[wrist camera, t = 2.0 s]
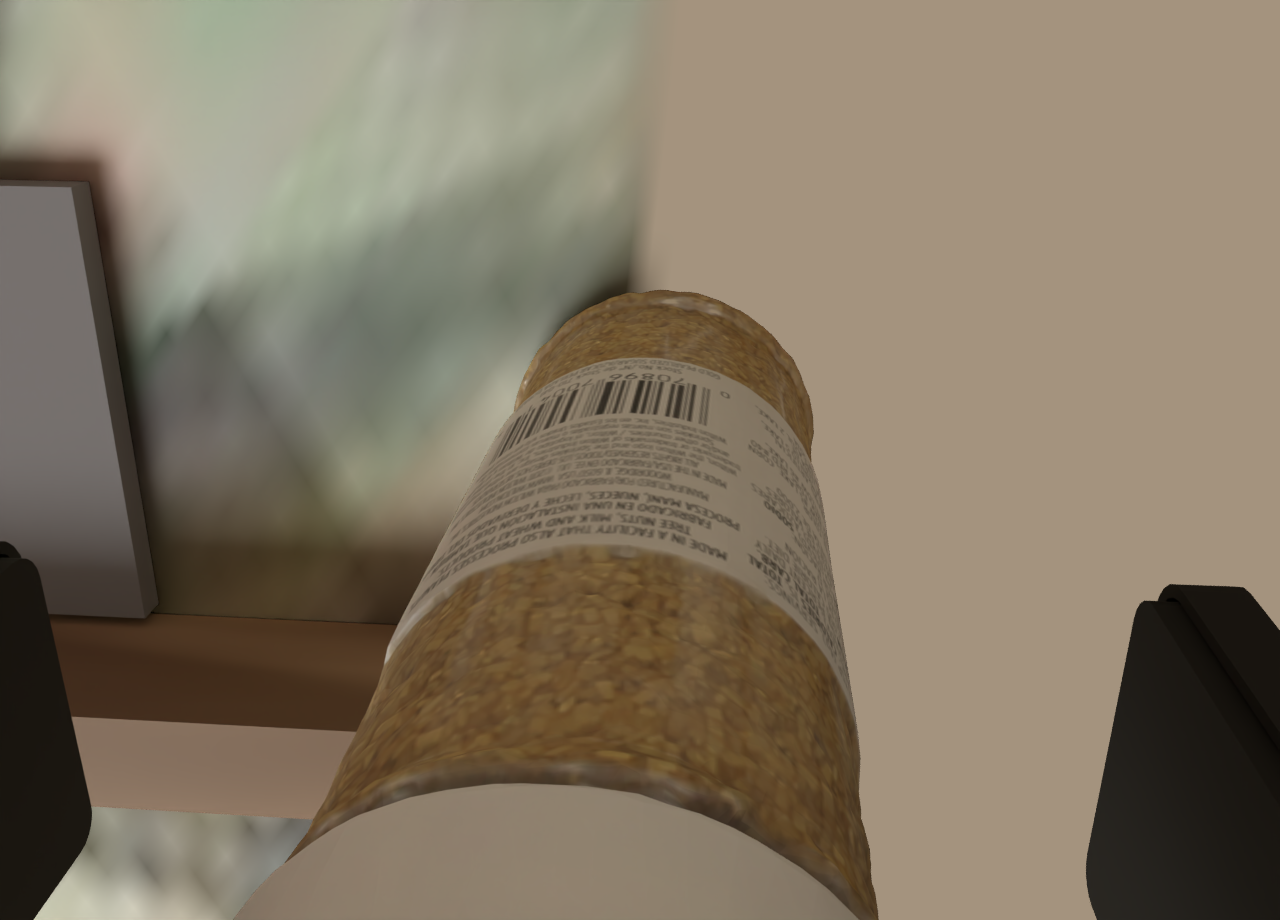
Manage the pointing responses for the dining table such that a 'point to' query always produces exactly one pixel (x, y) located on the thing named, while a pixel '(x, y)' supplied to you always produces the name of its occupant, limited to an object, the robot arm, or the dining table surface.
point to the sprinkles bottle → (613, 660)
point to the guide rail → (216, 708)
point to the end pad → (66, 410)
